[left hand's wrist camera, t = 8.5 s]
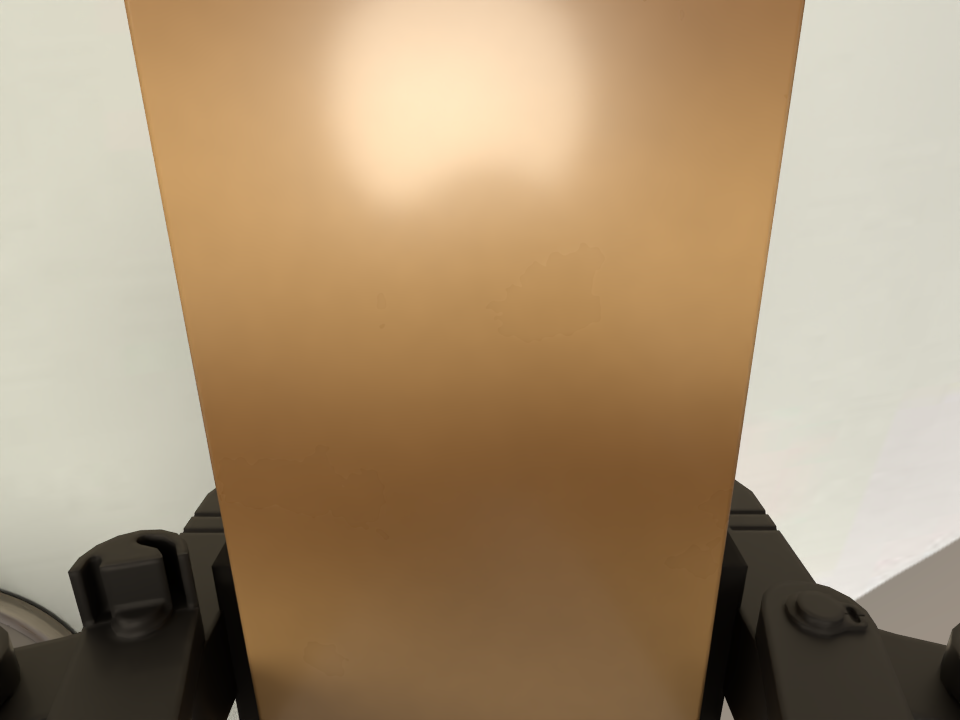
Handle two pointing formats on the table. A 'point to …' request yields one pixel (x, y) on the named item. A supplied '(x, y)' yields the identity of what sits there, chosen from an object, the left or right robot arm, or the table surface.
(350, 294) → the post
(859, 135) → the table surface
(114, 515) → the table surface
